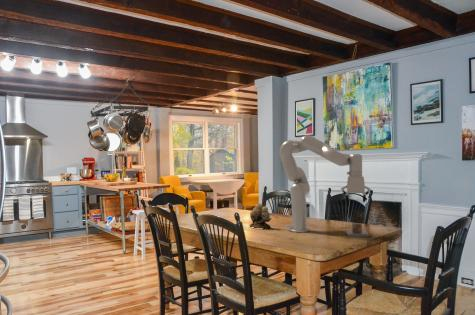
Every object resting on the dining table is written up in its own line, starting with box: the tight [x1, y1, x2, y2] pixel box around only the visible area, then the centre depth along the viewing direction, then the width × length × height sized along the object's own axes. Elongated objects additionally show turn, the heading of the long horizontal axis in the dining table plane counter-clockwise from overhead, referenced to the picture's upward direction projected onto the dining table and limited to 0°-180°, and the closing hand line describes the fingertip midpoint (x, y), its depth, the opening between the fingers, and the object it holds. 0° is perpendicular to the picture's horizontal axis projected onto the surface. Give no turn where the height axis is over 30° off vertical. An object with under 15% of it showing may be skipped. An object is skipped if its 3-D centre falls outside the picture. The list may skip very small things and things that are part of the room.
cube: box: [351, 222, 363, 233], centre depth 229 cm, size 5×5×5 cm
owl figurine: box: [248, 203, 272, 229], centre depth 260 cm, size 18×12×17 cm, turn 49°
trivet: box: [345, 230, 370, 238], centre depth 228 cm, size 12×12×2 cm
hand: (355, 201), depth 229 cm, fingers open, 9 cm apart
